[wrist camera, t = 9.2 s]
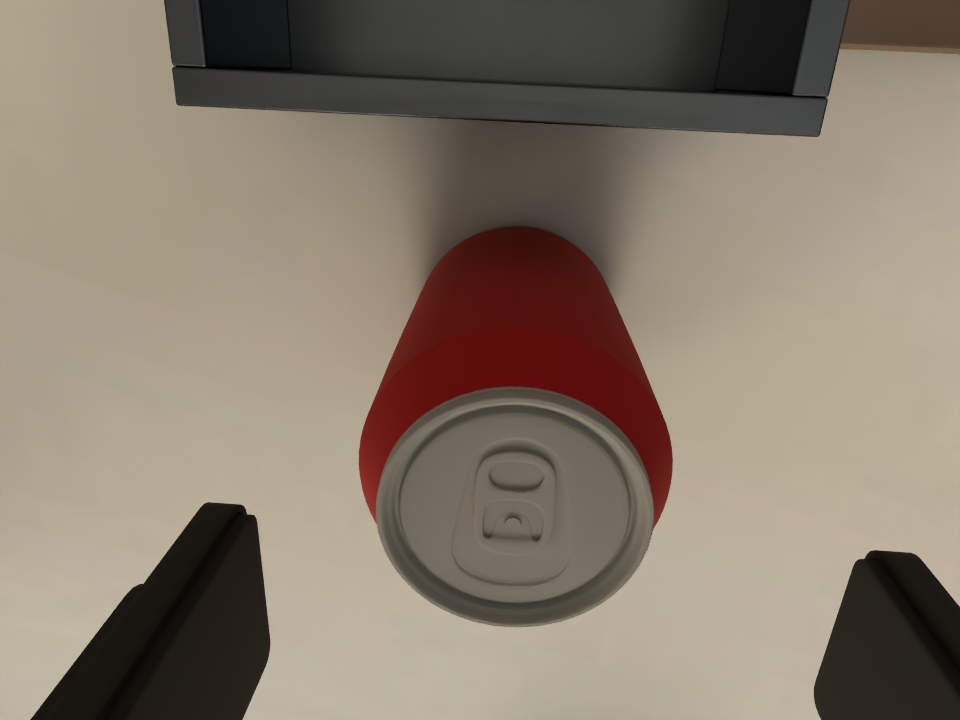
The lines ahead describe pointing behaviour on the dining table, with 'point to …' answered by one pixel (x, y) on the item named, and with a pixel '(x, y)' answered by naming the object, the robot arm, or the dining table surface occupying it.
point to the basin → (517, 60)
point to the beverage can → (515, 437)
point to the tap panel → (903, 26)
